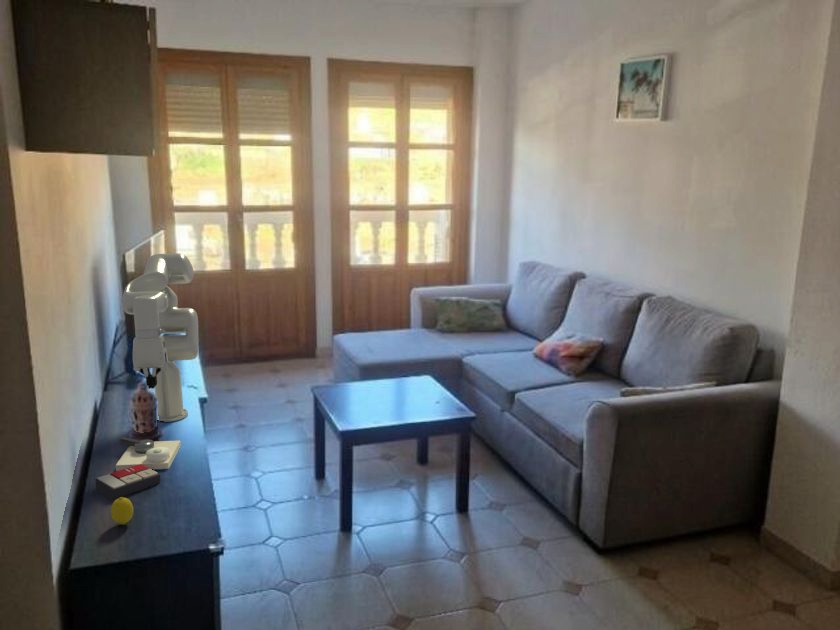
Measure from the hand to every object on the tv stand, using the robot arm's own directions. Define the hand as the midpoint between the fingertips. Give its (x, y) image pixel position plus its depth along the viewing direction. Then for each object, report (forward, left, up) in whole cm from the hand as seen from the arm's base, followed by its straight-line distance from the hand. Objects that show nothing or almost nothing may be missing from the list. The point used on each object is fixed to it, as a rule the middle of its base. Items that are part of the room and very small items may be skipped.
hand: (152, 387), depth 229 cm
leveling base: (+6, -1, -22) cm, 23 cm away
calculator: (+26, -2, -23) cm, 35 cm away
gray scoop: (+2, -6, -20) cm, 21 cm away
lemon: (+49, +3, -23) cm, 54 cm away
